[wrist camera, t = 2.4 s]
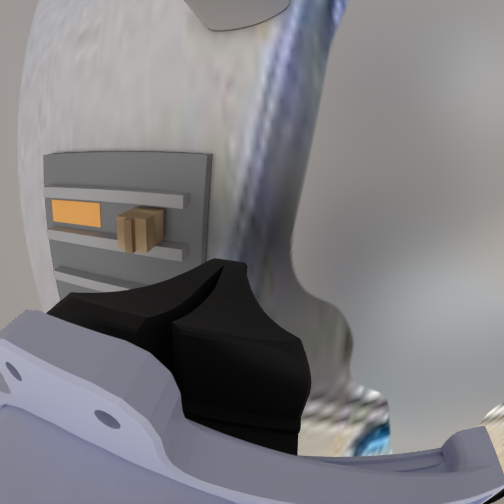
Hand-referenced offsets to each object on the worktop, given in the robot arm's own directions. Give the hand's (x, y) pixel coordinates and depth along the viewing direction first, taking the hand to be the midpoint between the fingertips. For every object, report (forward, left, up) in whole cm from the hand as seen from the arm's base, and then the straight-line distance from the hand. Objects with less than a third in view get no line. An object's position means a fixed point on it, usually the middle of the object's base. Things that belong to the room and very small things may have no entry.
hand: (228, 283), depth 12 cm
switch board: (-4, +10, -8) cm, 13 cm away
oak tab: (0, +7, -6) cm, 9 cm away
